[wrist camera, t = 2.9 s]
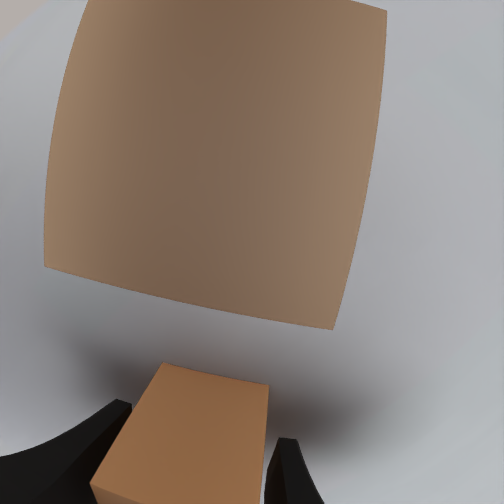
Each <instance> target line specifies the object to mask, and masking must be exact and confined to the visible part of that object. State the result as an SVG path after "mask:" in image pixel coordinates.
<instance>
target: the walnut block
mask: <svg viewBox="0 0 504 504" xmlns="http://www.w3.org/2000/svg"><path fill="white" fill-rule="evenodd" d="M386 27H387V11H386V10H383V9H380V8H376V7H373V6H370V5H366V4H362V3H359V2H355V1H351V0H88V3H87V5H86V8H85V11H84V13H83V16H82V19H81V21H80V24H79V27H78V30H77V33H76V36H75V39H74V42H73V46H72V49H71V52H70V56H69V59H68V63H67V66H66V70H65V74H64V78H63V82H62V86H61V91H60V95H59V100H58V105H57V110H56V115H55V120H54V126H53V132H52V138H51V145H50V153H49V161H48V170H47V181H46V194H45V213H44V266H45V267H48V268H52V269H55V270H58V271H62V272H65V273H69V274H72V275H76V276H79V277H83V278H87V279H90V280H94V281H98V282H101V283H105V284H109V285H113V286H117V287H121V288H125V289H128V290H132V291H137V292H141V293H145V294H149V295H153V296H157V297H162V298H166V299H170V300H175V301H179V302H183V303H188V304H193V305H197V306H202V307H207V308H211V309H216V310H221V311H226V312H231V313H236V314H241V315H246V316H252V317H257V318H262V319H268V320H274V321H279V322H285V323H291V324H297V325H303V326H309V327H315V328H322V329H328V330H333V328H334V325H335V322H336V318H337V315H338V311H339V308H340V304H341V300H342V297H343V293H344V289H345V286H346V282H347V278H348V274H349V270H350V266H351V262H352V258H353V254H354V249H355V245H356V241H357V236H358V232H359V227H360V222H361V218H362V213H363V208H364V203H365V198H366V193H367V187H368V182H369V176H370V171H371V165H372V159H373V152H374V146H375V139H376V132H377V125H378V118H379V110H380V101H381V92H382V82H383V72H384V60H385V45H386Z"/></svg>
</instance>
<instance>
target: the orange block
mask: <svg viewBox="0 0 504 504" xmlns="http://www.w3.org/2000/svg"><path fill="white" fill-rule="evenodd" d="M268 395H269V385H265V384H259V383H254V382H248V381H243V380H237V379H232V378H227V377H222V376H218V375H213V374H208V373H204V372H200V371H195V370H191V369H187V368H183V367H179V366H175V365H171V364H167V363H163V362H162V364H161V365H160V367H159V369H158V370H157V372H156V374H155V375H154V377H153V378H152V380H151V382H150V383H149V385H148V387H147V388H146V390H145V391H144V393H143V395H142V396H141V398H140V400H139V401H138V403H137V405H136V406H135V408H134V409H133V411H132V413H131V414H130V416H129V418H128V419H127V421H126V423H125V424H124V426H123V428H122V429H121V431H120V433H119V434H118V436H117V438H116V439H115V441H114V443H113V444H112V446H111V448H110V449H109V451H108V453H107V454H106V456H105V458H104V459H103V461H102V463H101V464H100V466H99V468H98V469H97V471H96V473H95V475H94V476H93V478H92V480H91V481H90V485H91V488H92V490H93V493H94V495H95V498H96V500H97V502H98V504H259V503H260V492H261V481H262V470H263V459H264V447H265V435H266V422H267V409H268Z"/></svg>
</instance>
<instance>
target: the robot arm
mask: <svg viewBox="0 0 504 504" xmlns="http://www.w3.org/2000/svg"><path fill="white" fill-rule="evenodd" d="M131 413H132V404H131V403H128V402H125V401H122V400H119V399H115V400H114V401H112V402H111V403H109V404H108V405H106V406H105V407H104V408H102V409H101V410H99V411H98V412H97V413H95V414H94V415H92V416H91V417H89V418H88V419H86V420H85V421H83V422H81V423H80V424H78V425H77V426H75V427H74V428H72V429H70V430H68V431H67V432H65V433H63V434H61V435H59V436H57V437H55V438H54V439H51V440H49V441H47V442H45V443H43V444H40V445H38V446H35V447H33V448H30V449H27V450H24V451H21V452H18V453H14V454H11V455H6V456H1V457H0V504H98V502H97V500H96V498H95V495H94V493H93V490H92V488H91V485H90V481H91V480H92V478H93V476H94V475H95V473H96V471H97V469H98V468H99V466H100V464H101V463H102V461H103V459H104V458H105V456H106V454H107V453H108V451H109V449H110V448H111V446H112V444H113V443H114V441H115V439H116V438H117V436H118V434H119V433H120V431H121V429H122V428H123V426H124V424H125V423H126V421H127V419H128V418H129V416H130V414H131ZM264 504H324V502H323V500H322V498H321V497H320V495H319V493H318V491H317V489H316V487H315V485H314V483H313V480H312V478H311V476H310V474H309V471H308V469H307V467H306V464H305V461H304V459H303V456H302V453H301V450H300V447H299V443H298V441H297V440H296V439H288V438H280V437H279V438H278V441H277V444H276V447H275V450H274V452H273V455H272V458H271V461H270V463H269V466H268V469H267V475H266V483H265V491H264Z"/></svg>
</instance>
